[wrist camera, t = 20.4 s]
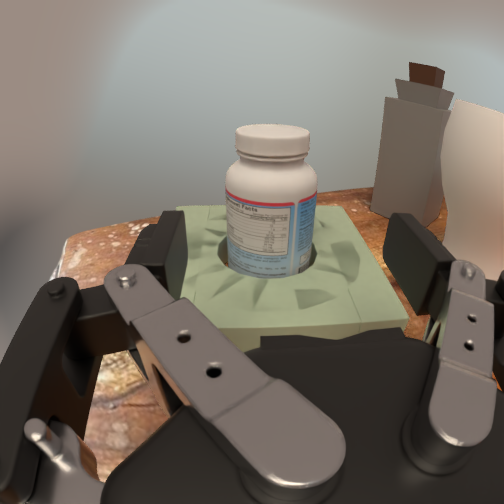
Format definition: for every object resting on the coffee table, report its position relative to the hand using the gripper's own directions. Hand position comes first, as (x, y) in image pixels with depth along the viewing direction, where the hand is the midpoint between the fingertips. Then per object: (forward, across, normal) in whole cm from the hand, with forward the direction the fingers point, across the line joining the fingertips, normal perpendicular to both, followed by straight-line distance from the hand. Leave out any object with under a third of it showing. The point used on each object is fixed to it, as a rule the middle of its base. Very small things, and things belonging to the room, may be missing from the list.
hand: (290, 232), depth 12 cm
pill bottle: (+10, 0, +9) cm, 13 cm away
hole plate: (+10, 0, +9) cm, 13 cm away
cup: (+7, -17, +9) cm, 21 cm away
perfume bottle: (+22, -18, +9) cm, 30 cm away
